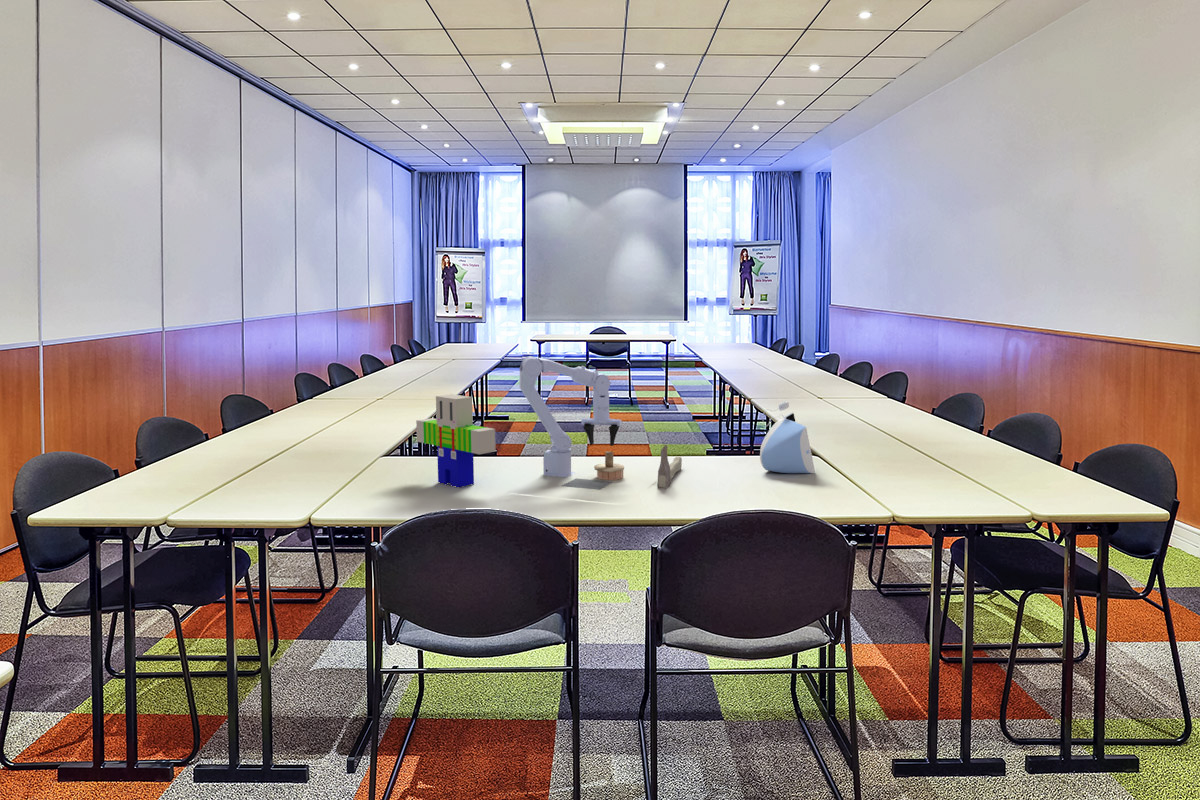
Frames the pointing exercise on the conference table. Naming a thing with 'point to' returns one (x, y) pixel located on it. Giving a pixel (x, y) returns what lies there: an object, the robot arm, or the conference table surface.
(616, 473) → the bowl
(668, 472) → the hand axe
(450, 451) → the toy
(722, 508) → the conference table surface
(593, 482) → the mat
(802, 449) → the retro desktop computer
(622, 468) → the lid
